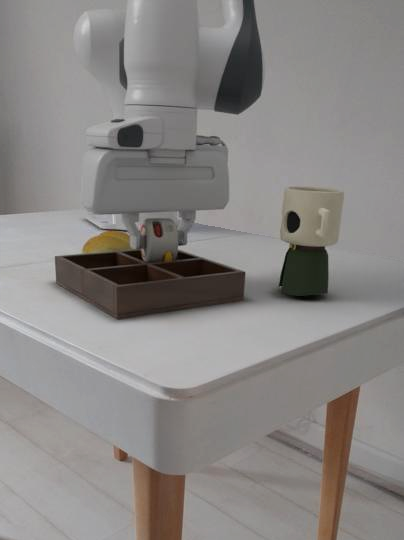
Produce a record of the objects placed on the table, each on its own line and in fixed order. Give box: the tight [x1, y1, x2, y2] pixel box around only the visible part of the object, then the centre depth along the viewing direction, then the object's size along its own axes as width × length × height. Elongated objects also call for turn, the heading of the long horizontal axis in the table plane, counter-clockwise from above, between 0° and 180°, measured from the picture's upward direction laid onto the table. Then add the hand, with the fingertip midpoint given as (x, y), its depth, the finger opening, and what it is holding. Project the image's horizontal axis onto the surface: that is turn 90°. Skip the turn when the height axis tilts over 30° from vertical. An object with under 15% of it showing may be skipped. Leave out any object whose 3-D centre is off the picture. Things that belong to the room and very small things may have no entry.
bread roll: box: [81, 230, 137, 254], centre depth 87 cm, size 8×9×4 cm
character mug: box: [277, 186, 345, 299], centre depth 70 cm, size 11×7×13 cm, turn 9°
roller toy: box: [139, 218, 179, 263], centre depth 74 cm, size 4×6×6 cm
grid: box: [54, 249, 247, 320], centre depth 70 cm, size 17×17×4 cm
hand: (158, 246), depth 74 cm, fingers closed on roller toy, 5 cm apart
